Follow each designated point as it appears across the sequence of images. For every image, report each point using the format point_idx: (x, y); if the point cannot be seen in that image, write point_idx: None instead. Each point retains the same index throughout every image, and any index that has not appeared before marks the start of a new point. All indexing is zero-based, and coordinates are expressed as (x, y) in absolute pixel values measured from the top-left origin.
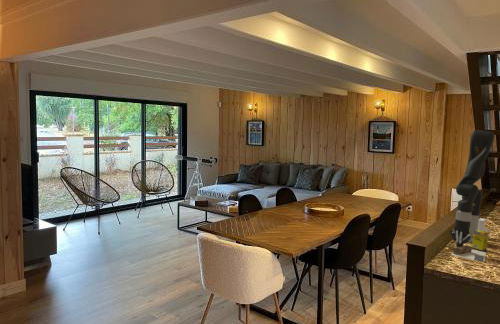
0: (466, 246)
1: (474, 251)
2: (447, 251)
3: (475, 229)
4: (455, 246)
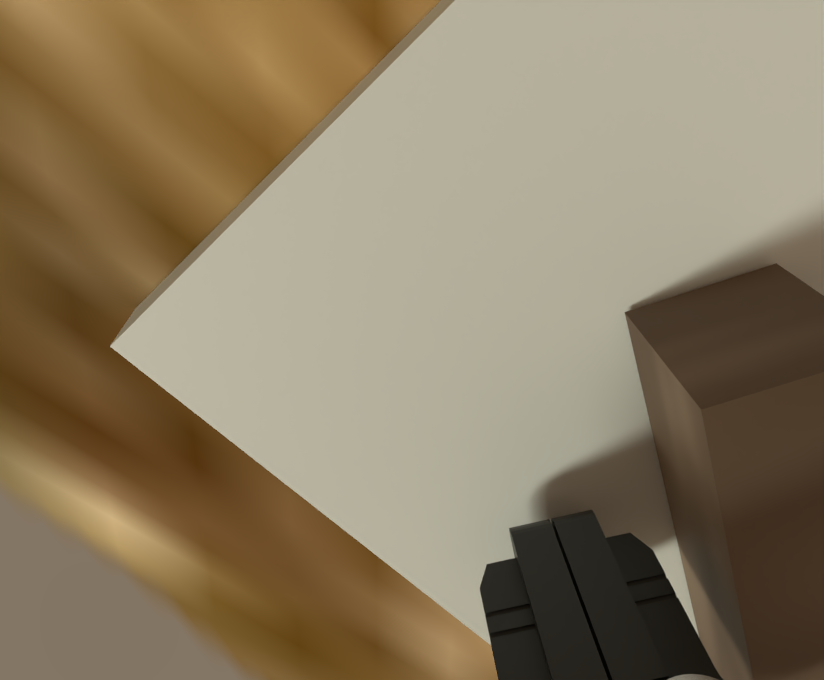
0: (799, 552)
1: (739, 31)
2: (396, 671)
3: None
4: (142, 364)
